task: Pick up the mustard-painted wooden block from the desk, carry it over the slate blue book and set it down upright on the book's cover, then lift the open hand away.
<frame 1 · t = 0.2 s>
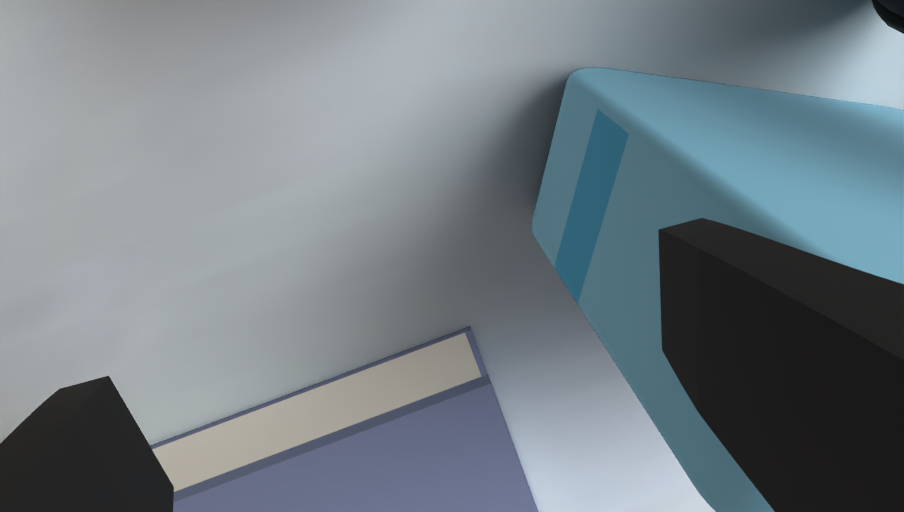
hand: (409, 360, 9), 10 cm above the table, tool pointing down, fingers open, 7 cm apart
data package: (717, 158, 20), on the table
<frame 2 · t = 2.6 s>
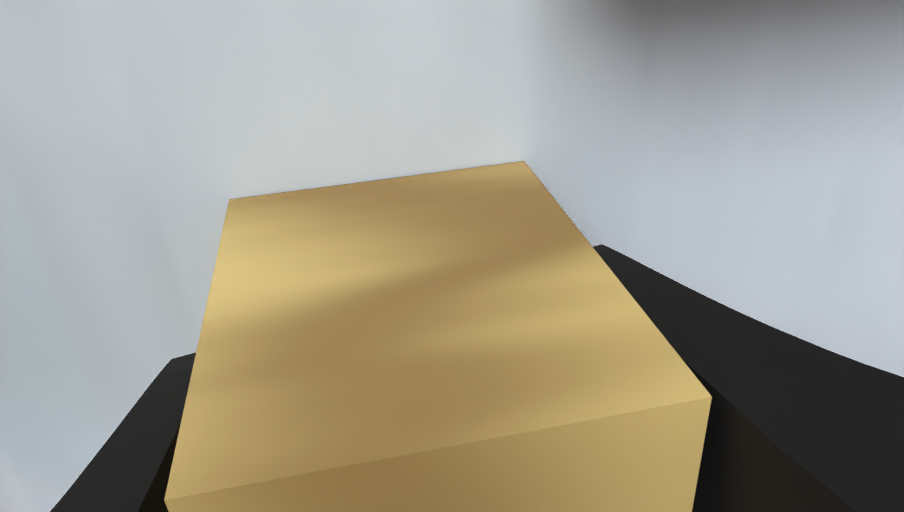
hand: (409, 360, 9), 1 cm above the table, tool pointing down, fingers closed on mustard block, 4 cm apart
mustard block: (395, 302, 10), on the table, touching gripper
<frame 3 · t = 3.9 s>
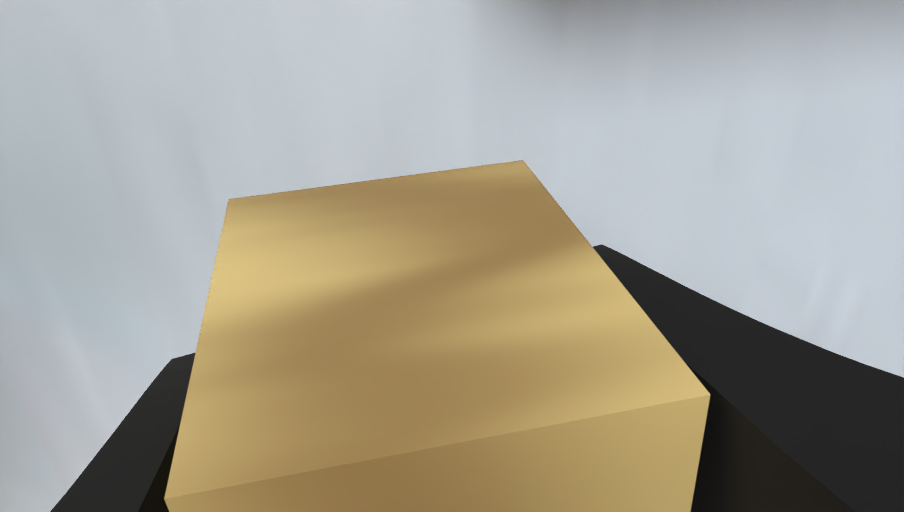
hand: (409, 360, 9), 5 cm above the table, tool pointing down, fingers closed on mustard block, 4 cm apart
mustard block: (395, 302, 10), point 3 cm above the table, touching gripper
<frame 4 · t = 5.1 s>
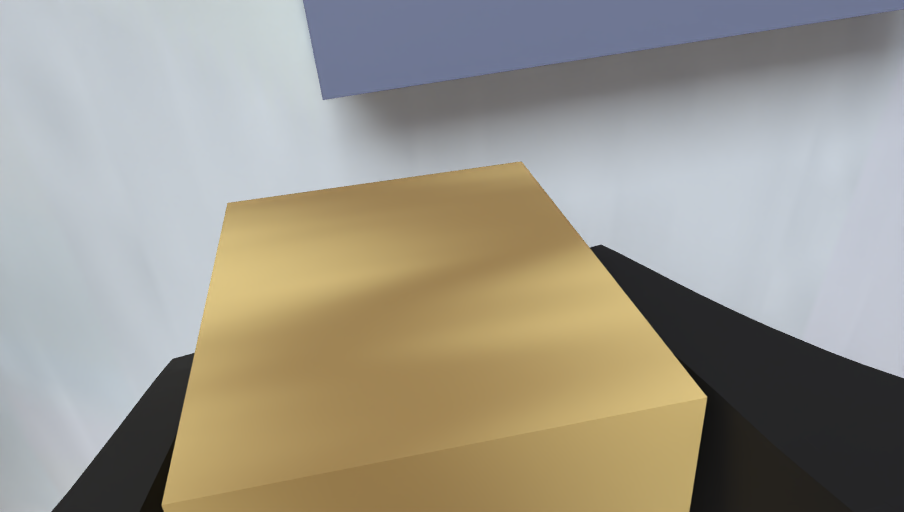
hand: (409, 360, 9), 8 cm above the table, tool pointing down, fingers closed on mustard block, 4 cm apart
mustard block: (395, 304, 10), point 7 cm above the table, touching gripper
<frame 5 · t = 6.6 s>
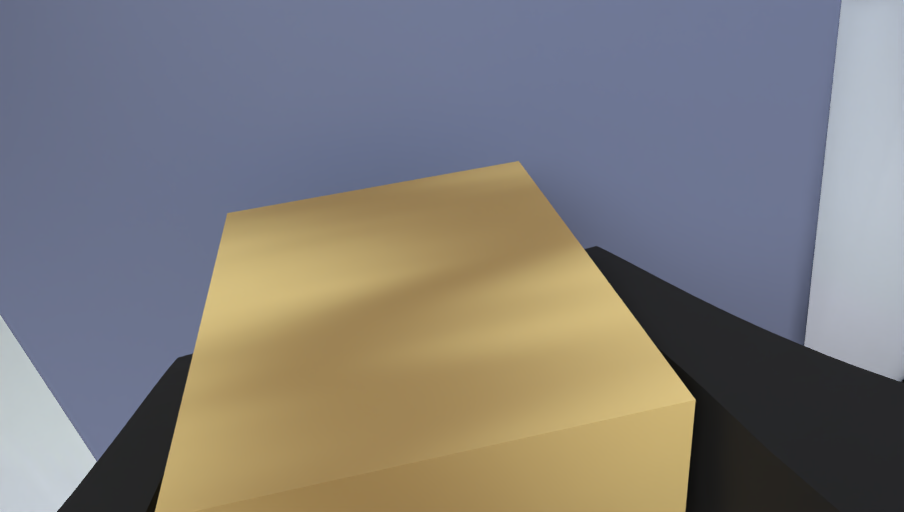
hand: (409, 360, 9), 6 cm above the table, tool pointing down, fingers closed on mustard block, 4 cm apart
mustard block: (398, 307, 10), point 4 cm above the table, touching gripper
slate blue book: (417, 175, 14), on the table
when the fingers open (5 cm above the table, at t = 7.8 s): mustard block drops 1 cm, resting on slate blue book.
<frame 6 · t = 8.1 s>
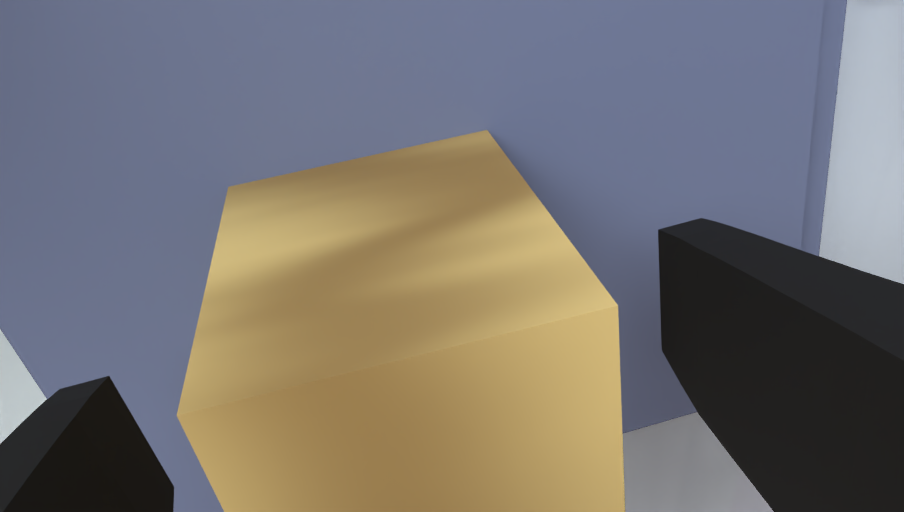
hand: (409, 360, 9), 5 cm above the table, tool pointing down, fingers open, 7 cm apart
mustard block: (386, 268, 11), point 3 cm above the table, touching slate blue book
slate blue book: (417, 179, 14), on the table, touching mustard block
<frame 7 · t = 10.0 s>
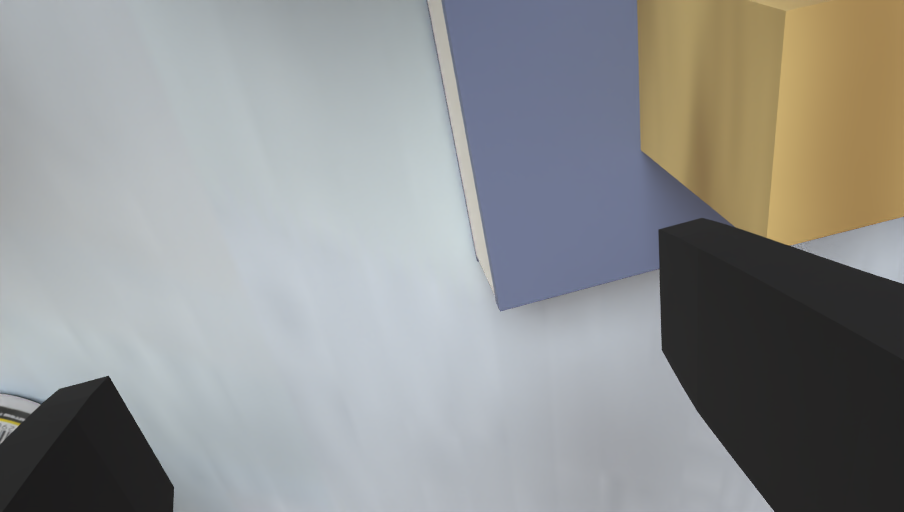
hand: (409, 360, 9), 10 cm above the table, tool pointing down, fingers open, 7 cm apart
supplement bottle 2: (0, 452, 20), on the table
mustard block: (724, 46, 15), point 3 cm above the table, touching slate blue book
slate blue book: (699, 9, 18), on the table, touching mustard block
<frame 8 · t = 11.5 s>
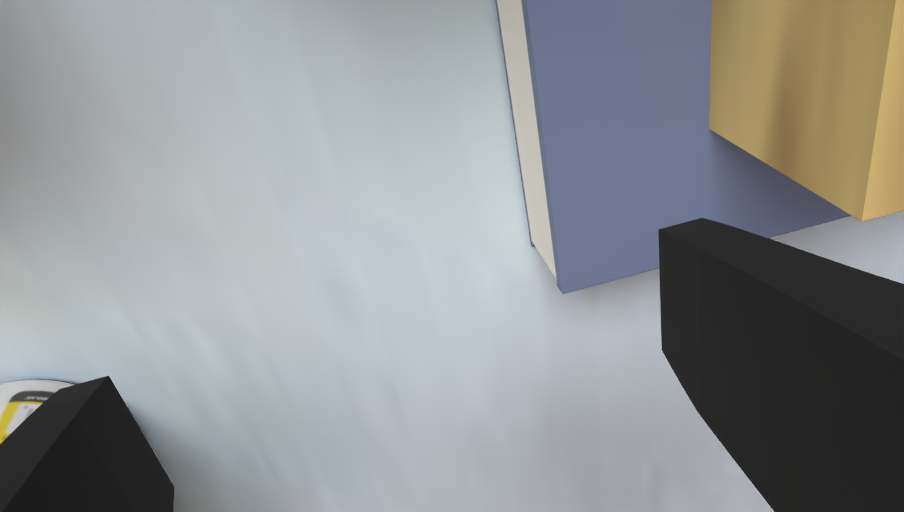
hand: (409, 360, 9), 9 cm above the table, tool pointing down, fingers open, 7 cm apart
supplement bottle 2: (51, 441, 20), on the table
mustard block: (795, 22, 15), point 3 cm above the table, touching slate blue book
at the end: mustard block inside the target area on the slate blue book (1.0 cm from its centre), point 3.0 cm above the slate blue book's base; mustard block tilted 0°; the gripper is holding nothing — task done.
